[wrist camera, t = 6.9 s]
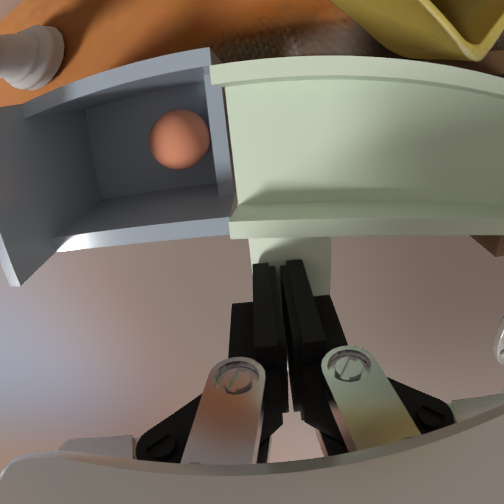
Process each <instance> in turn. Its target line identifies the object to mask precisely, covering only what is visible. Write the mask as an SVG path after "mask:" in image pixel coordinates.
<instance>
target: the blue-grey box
mask: <svg viewBox="0 0 504 504" xmlns="http://www.w3.org/2000/svg"><path fill="white" fill-rule="evenodd" d="M218 64H223V63H222V62H221V61H220V59H219V58H218V57H217V56H216V54H215V53H214V52H213V51H212V50H211V48H210V47H206V48H200V49H194V50H189V51H183V52H178V53H173V54H168V55H164V56H159V57H155V58H151V59H147V60H143V61H139V62H135V63H131V64H128V65H124V66H121V67H117V68H114V69H111V70H107V71H104V72H101V73H98V74H95V75H92V76H89V77H86V78H83V79H81V80H78V81H75V82H73V83H70V84H67V85H65V86H62V87H60V88H57V89H55V90H52V91H50V92H48V93H45V94H43V95H41V96H39V97H36V98H34V99H32V100H30V101H28V102H26V103H23V104H19V105H12V106H5V107H0V262H1V265H2V268H3V270H4V272H5V275H6V277H7V280H8V282H9V284H10V286H21V285H22V284H23V283H24V282H25V281H26V280H27V279H28V278H29V277H30V276H31V275H32V274H33V273H34V272H35V271H36V270H37V269H38V268H39V267H40V266H42V265H43V264H44V263H45V262H46V261H47V260H48V259H49V258H50V257H51V256H52V255H53V254H54V253H55V252H60V251H69V250H78V249H86V248H96V247H106V246H115V245H124V244H134V243H145V242H155V241H165V240H175V239H186V238H196V237H208V236H219V235H230V231H229V224H228V221H229V220H230V218H231V216H232V215H233V213H234V211H235V210H236V208H237V204H238V198H237V190H236V181H235V173H234V164H233V155H232V147H231V138H230V129H229V120H228V111H227V102H226V93H225V87H221V86H215V85H211V77H210V68H209V66H212V65H218ZM179 109H181V110H189V111H192V112H194V113H196V114H198V115H199V116H200V117H201V118H202V119H203V120H204V121H205V123H206V124H207V126H208V129H209V132H210V144H209V148H208V150H207V152H206V154H205V156H204V157H203V158H202V159H201V160H200V161H199V162H198V163H197V164H195V165H194V166H191V167H189V168H186V169H171V168H168V167H165V166H163V165H162V164H160V163H159V162H158V161H157V160H156V159H155V158H154V156H153V154H152V153H151V150H150V146H149V135H150V131H151V129H152V127H153V125H154V123H155V122H156V121H157V120H158V119H159V118H160V117H161V116H162V115H164V114H165V113H167V112H170V111H173V110H179Z"/></svg>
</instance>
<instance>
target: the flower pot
mask: <svg viewBox="0 0 504 504" xmlns="http://www.w3.org/2000/svg"><path fill="white" fill-rule="evenodd" d="M329 1H331V2H332V3H333V4H334V5H336V6H337V7H338V8H340V9H341V10H342V11H343V12H345V13H346V14H347V15H348V16H349V17H351V18H352V19H353V20H354V21H355V22H357V23H358V24H359V25H360V26H361V27H362V28H363V29H364V30H366V31H367V32H368V33H369V34H370V35H371V36H372V37H373V38H374V39H375V40H377V41H378V42H379V43H380V44H381V45H383V46H384V47H386V48H387V49H388V50H390V51H392V52H394V53H396V54H398V55H400V56H403V57H407V58H414V59H448V60H465V61H475V62H478V61H481V60H482V59H483V58H484V57H485V56H486V55H487V53H488V52H489V51H490V49H491V48H492V47H493V45H494V44H495V42H496V41H497V39H498V38H499V37H500V35H501V33H502V32H503V30H504V0H329Z"/></svg>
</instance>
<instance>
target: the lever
mask: <svg viewBox="0 0 504 504" xmlns="http://www.w3.org/2000/svg"><path fill="white" fill-rule="evenodd" d="M209 68H210V77H211V85H215V86H221V87H225V93H226V102H227V111H228V120H229V129H230V138H231V147H232V155H233V164H234V173H235V181H236V190H237V198H238V206H237V208H236V210H235V211H234V213H233V215H232V216H231V218H230V220H229V221H228V224H229V231H230V238H231V239H249V247H250V257H251V266H252V264H256V263H267V262H268V263H269V267H270V266H275V268H276V274H277V281H278V288H279V295H280V302H281V309H282V295H281V278H280V266H281V265H286V261H289V260H300V259H302V261H303V264H304V267H305V270H306V274H307V277H308V280H309V283H310V287H311V290H312V293H313V296H319V295H330V274H331V272H330V271H331V237H335V236H336V237H339V236H404V235H405V236H410V235H504V78H501V77H497V76H493V75H489V74H485V73H481V72H477V71H472V70H468V69H463V68H458V67H453V66H447V65H441V64H435V63H428V62H421V61H413V60H405V59H395V58H382V57H366V56H296V57H279V58H267V59H256V60H247V61H239V62H231V63H224V64H218V65H212V66H209ZM252 274H253V269H252ZM282 316H283V313H282ZM287 370H288V362H287ZM288 371H289V370H288Z"/></svg>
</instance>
